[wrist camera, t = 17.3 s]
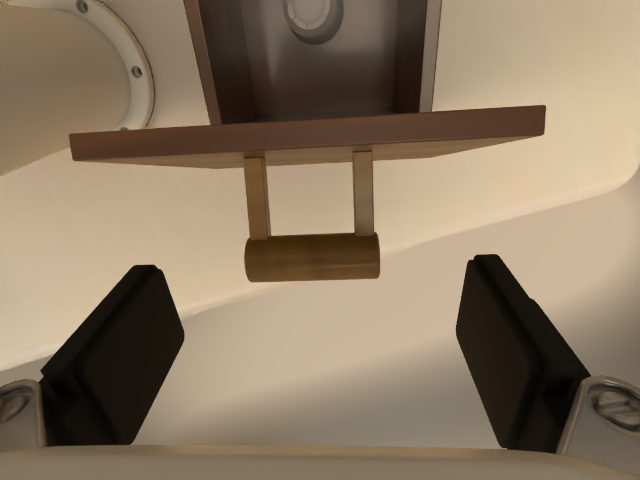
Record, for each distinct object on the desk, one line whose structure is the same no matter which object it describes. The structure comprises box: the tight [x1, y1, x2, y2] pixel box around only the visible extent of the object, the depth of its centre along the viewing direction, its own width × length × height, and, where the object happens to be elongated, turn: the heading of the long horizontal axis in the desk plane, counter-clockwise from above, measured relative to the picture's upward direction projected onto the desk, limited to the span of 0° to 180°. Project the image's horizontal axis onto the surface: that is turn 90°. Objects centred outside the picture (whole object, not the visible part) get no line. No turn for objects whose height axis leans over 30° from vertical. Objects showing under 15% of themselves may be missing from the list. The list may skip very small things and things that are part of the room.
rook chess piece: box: [282, 0, 344, 45], centre depth 24 cm, size 4×4×8 cm
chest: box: [184, 0, 442, 125], centre depth 24 cm, size 12×14×11 cm
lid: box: [69, 105, 546, 282], centre depth 16 cm, size 12×14×6 cm
